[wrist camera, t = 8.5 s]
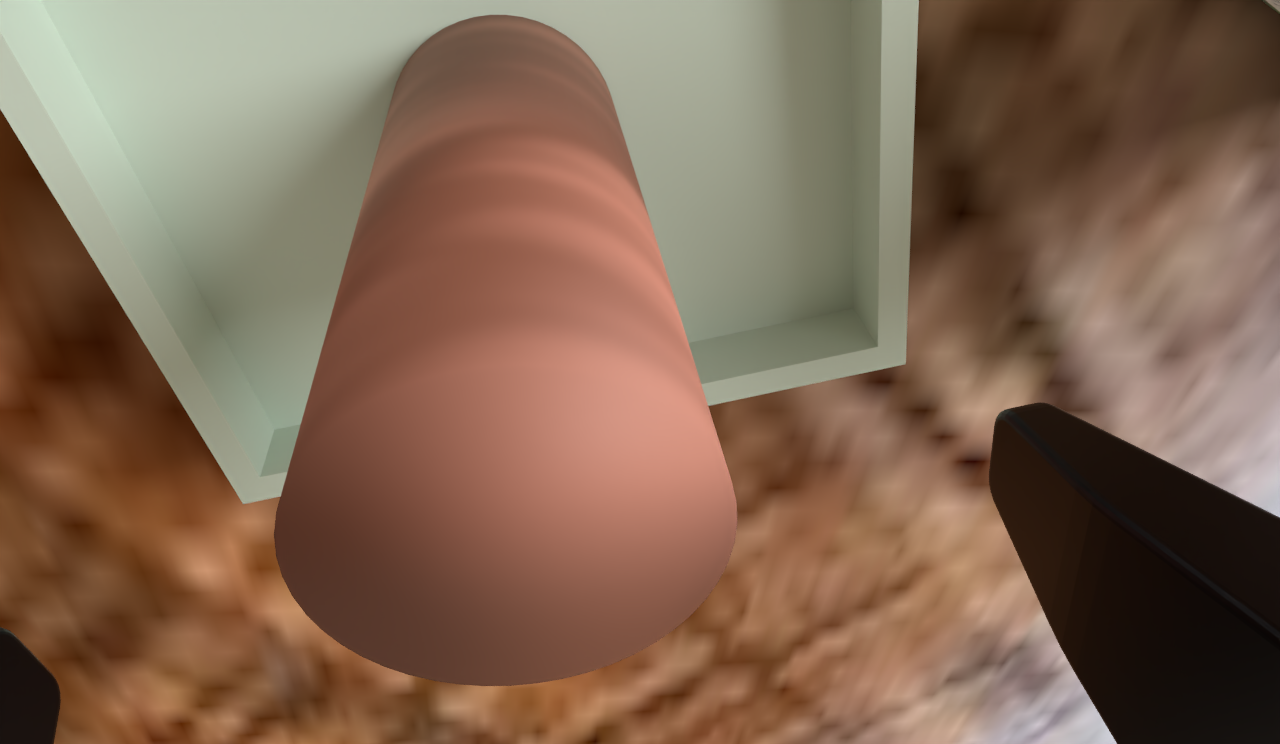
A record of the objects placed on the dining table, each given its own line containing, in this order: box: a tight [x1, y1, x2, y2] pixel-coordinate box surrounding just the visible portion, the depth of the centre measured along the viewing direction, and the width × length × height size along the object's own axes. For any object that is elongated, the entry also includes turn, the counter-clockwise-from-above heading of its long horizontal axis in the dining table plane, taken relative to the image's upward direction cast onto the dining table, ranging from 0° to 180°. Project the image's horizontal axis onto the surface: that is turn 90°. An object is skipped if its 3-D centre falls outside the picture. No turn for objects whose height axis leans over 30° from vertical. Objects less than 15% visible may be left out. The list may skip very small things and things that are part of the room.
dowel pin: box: [274, 15, 737, 686], centre depth 12 cm, size 4×4×10 cm
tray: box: [0, 0, 919, 504], centre depth 16 cm, size 14×12×2 cm
